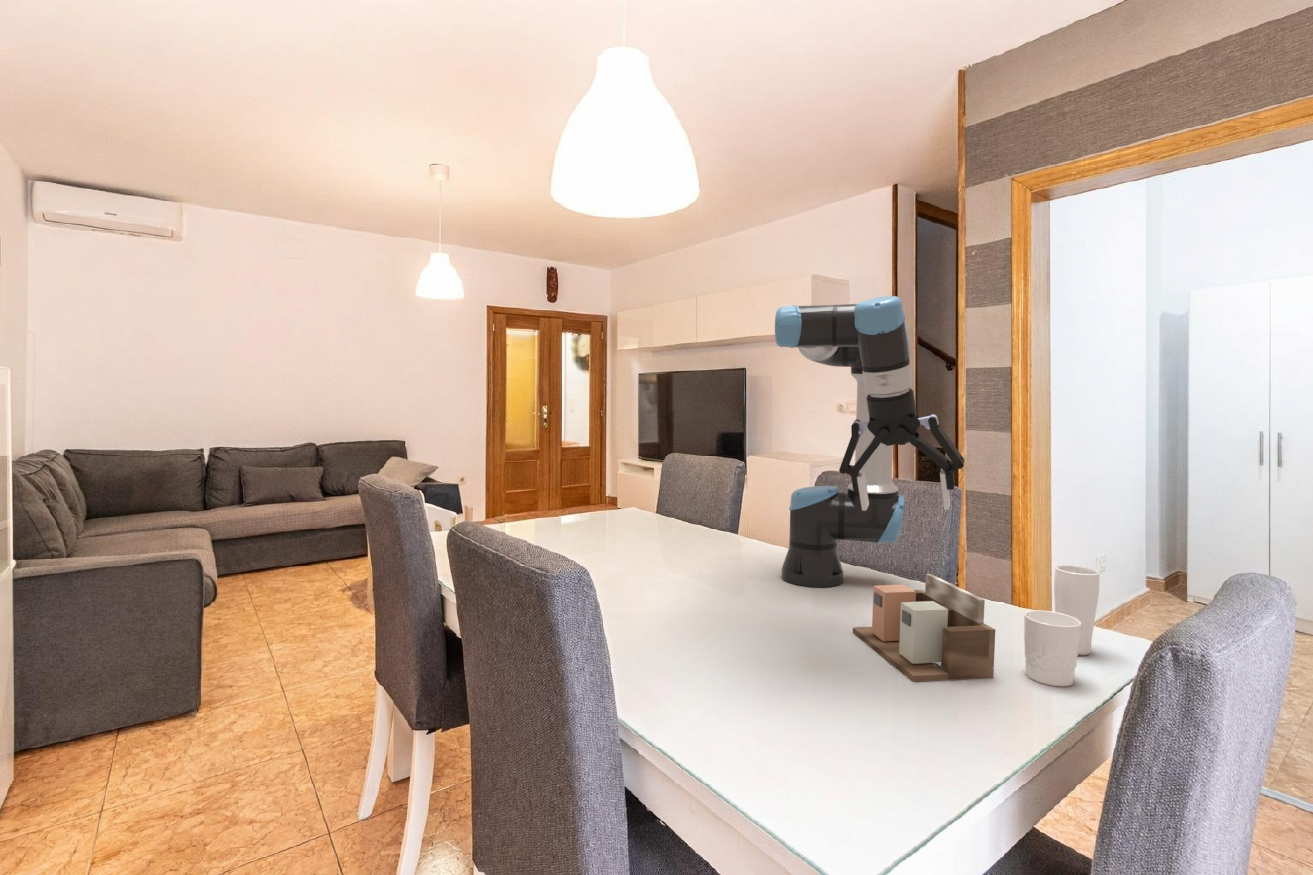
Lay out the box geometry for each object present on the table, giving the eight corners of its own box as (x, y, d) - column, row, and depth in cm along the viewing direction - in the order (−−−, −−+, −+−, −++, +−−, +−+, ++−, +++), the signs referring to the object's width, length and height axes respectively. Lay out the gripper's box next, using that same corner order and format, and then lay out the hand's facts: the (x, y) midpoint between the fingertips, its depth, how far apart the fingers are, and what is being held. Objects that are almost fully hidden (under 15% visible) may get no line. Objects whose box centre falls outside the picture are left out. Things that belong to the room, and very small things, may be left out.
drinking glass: (1056, 640, 122) (1060, 562, 121) (1099, 651, 117) (1103, 569, 116) (1046, 650, 117) (1050, 569, 116) (1090, 661, 112) (1094, 576, 111)
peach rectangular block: (870, 632, 122) (871, 585, 121) (901, 631, 122) (903, 584, 122) (881, 641, 117) (883, 592, 117) (914, 639, 118) (915, 591, 118)
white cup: (1086, 690, 101) (1090, 628, 100) (1031, 685, 102) (1034, 624, 102) (1065, 670, 109) (1068, 612, 108) (1014, 666, 110) (1017, 608, 110)
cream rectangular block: (897, 653, 112) (899, 602, 111) (931, 651, 113) (933, 601, 112) (911, 663, 107) (912, 610, 107) (946, 661, 108) (948, 609, 108)
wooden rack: (852, 632, 125) (854, 571, 124) (920, 629, 127) (922, 569, 126) (913, 681, 103) (916, 608, 103) (993, 677, 105) (996, 605, 105)
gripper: (810, 404, 111) (829, 516, 117) (970, 389, 99) (983, 515, 104) (821, 392, 117) (838, 499, 123) (973, 376, 105) (985, 496, 110)
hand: (905, 507), depth 113 cm, fingers open, 13 cm apart
